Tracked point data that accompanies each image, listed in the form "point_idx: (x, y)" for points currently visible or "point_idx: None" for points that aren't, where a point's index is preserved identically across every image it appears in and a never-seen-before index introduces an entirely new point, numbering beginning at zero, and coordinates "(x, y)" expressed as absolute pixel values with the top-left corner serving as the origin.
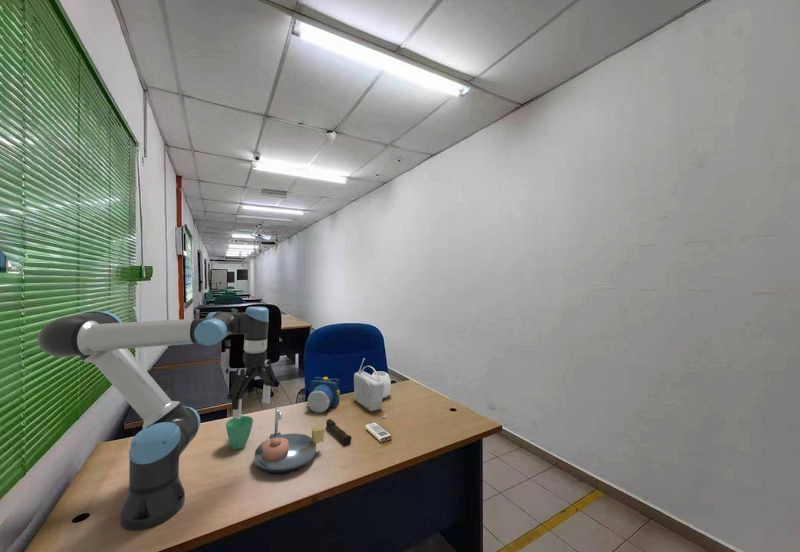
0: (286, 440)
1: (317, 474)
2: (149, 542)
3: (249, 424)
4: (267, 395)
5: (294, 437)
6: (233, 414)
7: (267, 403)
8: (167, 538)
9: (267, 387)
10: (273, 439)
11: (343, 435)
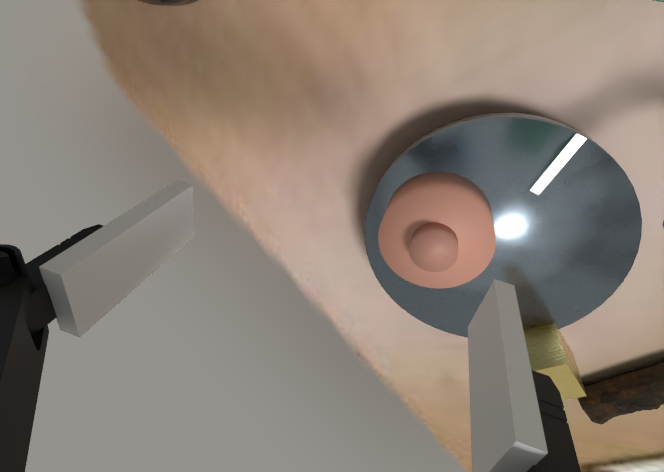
0: (468, 276)
1: (407, 325)
2: (95, 20)
3: (661, 1)
4: (475, 377)
5: (591, 254)
6: (160, 195)
7: (471, 321)
8: (120, 59)
9: (481, 460)
10: (437, 242)
11: (608, 406)
